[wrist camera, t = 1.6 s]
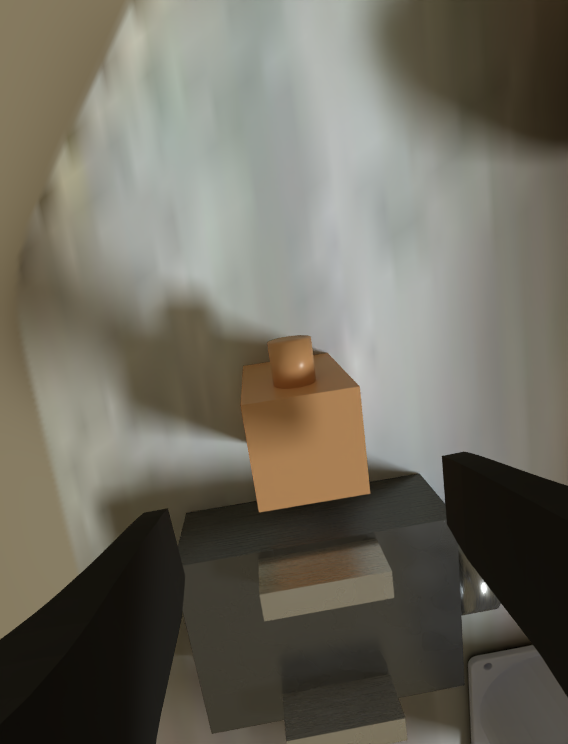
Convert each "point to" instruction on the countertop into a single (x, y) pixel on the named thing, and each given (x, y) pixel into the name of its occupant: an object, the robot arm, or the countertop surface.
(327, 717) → the grey plate with rails
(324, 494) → the tan single stud brick
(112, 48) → the countertop surface
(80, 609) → the robot arm
